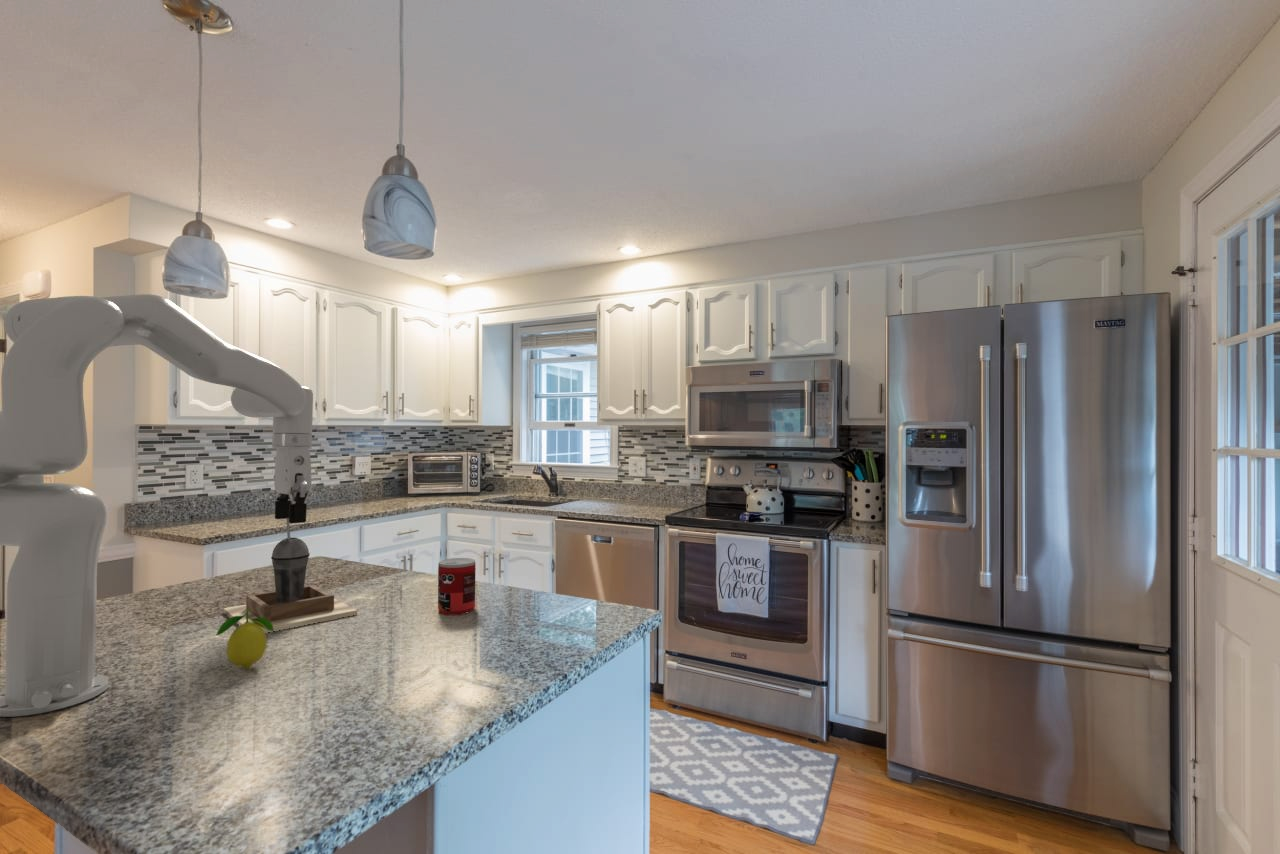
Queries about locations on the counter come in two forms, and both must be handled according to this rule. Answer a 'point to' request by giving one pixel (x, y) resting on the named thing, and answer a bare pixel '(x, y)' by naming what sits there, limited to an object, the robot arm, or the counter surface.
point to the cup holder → (291, 609)
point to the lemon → (246, 640)
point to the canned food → (456, 585)
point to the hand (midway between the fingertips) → (290, 520)
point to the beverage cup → (290, 568)
